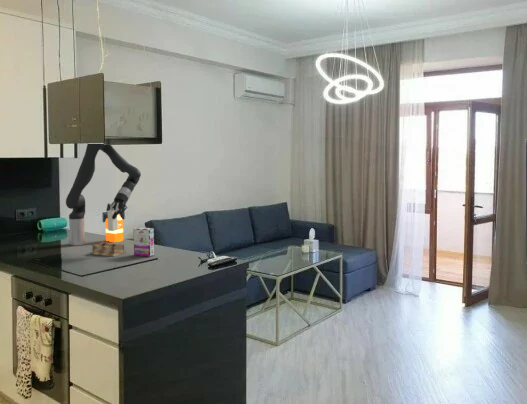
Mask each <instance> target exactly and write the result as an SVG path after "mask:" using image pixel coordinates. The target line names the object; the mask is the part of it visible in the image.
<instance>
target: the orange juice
mask: <svg viewBox="0 0 527 404" xmlns="http://www.w3.org/2000/svg"><path fill="white" fill-rule="evenodd" d="M117 218H118V230H115V231H108V219H107V217H106V218H105V242H108V241H109V242H108V243H120V242H123V241H124V219H123V218H122V217H121V214H118V215H117Z"/></svg>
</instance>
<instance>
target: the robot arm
mask: <svg viewBox="0 0 527 404" xmlns="http://www.w3.org/2000/svg"><path fill="white" fill-rule="evenodd" d="M99 151H102V152H103V153H105V155H106V156H108V157H109V158H108V159H110V161H111V163H112V164H113V166H115V167H116V168H117V169H118V170H119V171H120V172H121V173H127V174H128V175H127V178H126V180H125V181H124V182H123V184H122V185H121V187H120V188H119V190H118V192H116V195H115V197H114V198H113V202H111V203H107V205H106V212H107V214H106V216H105V217H106V218H107V219H108V210H116V211H115V213H114V214H113V216H112V218H113V219H115V218H116V217H117V215H118V214H120V215H122V214H123V213H124V212H125V211H126V209H128V206H127V202H128V201H129V199H130V197H131V195H132V193H133V191H134V189H135V187H136V185H138V184H139V181H140V178H141V177H142V176H141V175H142V174H141V171H140V170H139V168H137V167H136V166H134V165H132V164H131V163H129V162H128V161H127V160H126V159H125V158H124V157H123V156H121V155H120V153H118V151H117V150H116V149H115V148H114V147H113V145H112V144H111V145H104V144H88V143H87V145H86V148H85V152H84V156H83V158H82V161H81V162H80V166H79V168H78V170H77V171H78V172H77V174H76V176H75V179H74V181H73V185H72V187H71V188H70V191H68V192H69V193H68V194H67V197H66V199H65V205H66V207H67V208H68V209H70V210H71V209H72V211H71V213H70V214H69V215H68V225H69V227H68V228H69V229H68V234H67V235H68V237H67V238H68V245H70V246H83V245H85V244H86V236H85V235H86V234H85V233H86V232H85V214H86V198H85V196H84V195H83V194H82V192H83V190H84V189H85V188H86V187H87V185H89V183H90V182H91V181H92V178H93V176H94V174H95V172H96V171H95V170H96V162H95V161H96V157H97V156H98V152H99Z"/></svg>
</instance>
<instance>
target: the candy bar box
mask: <svg viewBox="0 0 527 404" xmlns="http://www.w3.org/2000/svg"><path fill="white" fill-rule="evenodd" d="M154 232H155V228H153V227H151V228H150V227H135V228H133V255H134V256H135V257H147V258H149V257H153V256H155V233H154Z"/></svg>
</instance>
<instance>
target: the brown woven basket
mask: <svg viewBox="0 0 527 404" xmlns="http://www.w3.org/2000/svg"><path fill="white" fill-rule="evenodd" d="M91 247H92V249H91V250H92V251H90V255H95V256H96V255H97V256H104V257H106V256H107V257H116V256H119V255H120V256H121V255H124V254H126V253H127V251H126V250H125V244H123V243H122V244H121V243H114V242H100V243H96V244H93V245H92V246H91Z"/></svg>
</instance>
